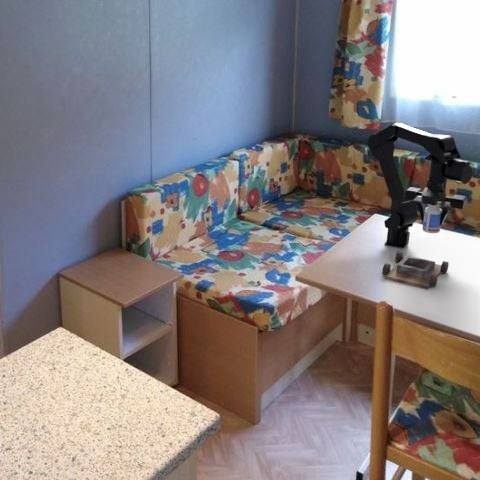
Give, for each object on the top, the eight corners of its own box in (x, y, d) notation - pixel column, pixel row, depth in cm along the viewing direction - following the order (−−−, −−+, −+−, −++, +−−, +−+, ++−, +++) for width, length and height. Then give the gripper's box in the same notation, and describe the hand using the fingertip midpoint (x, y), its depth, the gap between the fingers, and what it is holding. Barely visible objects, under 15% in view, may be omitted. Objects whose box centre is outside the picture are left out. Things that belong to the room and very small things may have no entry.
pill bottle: (442, 231, 217) (446, 202, 214) (434, 235, 214) (438, 205, 210) (427, 226, 221) (431, 198, 217) (418, 230, 217) (422, 201, 214)
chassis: (380, 277, 204) (381, 266, 202) (399, 258, 218) (400, 248, 217) (432, 290, 196) (433, 279, 195) (448, 269, 211) (450, 259, 209)
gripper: (400, 177, 209) (395, 224, 214) (462, 187, 200) (454, 236, 205) (411, 169, 218) (406, 215, 223) (471, 178, 209) (463, 226, 214)
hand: (431, 223), depth 216 cm, fingers closed on pill bottle, 5 cm apart
